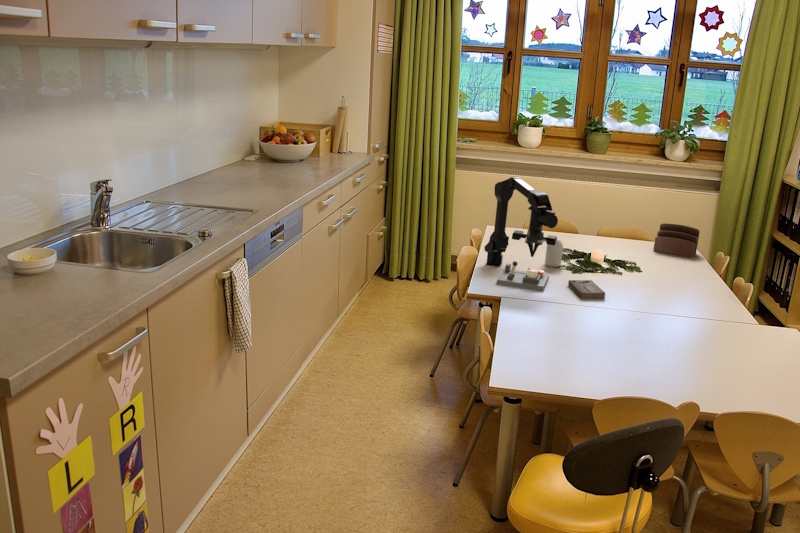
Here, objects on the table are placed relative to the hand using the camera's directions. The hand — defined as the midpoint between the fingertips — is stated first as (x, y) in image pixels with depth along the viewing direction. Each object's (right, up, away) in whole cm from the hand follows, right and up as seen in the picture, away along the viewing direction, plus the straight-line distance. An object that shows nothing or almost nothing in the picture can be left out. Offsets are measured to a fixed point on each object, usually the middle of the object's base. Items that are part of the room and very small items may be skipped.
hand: (532, 256), depth 325 cm
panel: (-3, -11, +4) cm, 12 cm away
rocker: (+3, -7, +7) cm, 10 cm away
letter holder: (+85, +3, +63) cm, 106 cm away
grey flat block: (+22, -16, -5) cm, 28 cm away
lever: (-9, -9, +1) cm, 13 cm away
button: (-1, -10, -1) cm, 10 cm away
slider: (-9, -6, +10) cm, 15 cm away
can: (+15, -4, +30) cm, 34 cm away
